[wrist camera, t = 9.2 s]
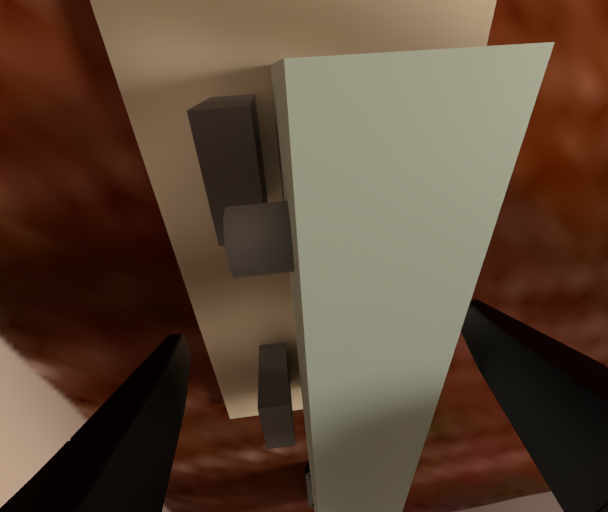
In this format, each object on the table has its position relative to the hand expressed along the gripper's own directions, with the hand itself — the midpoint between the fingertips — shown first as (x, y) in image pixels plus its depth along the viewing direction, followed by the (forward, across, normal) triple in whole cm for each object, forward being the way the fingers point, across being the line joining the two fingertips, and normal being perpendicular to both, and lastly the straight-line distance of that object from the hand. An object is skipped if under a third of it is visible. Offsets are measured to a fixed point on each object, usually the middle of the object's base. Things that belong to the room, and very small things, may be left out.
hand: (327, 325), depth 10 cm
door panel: (+3, 0, 0) cm, 3 cm away
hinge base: (+4, 0, 0) cm, 4 cm away
